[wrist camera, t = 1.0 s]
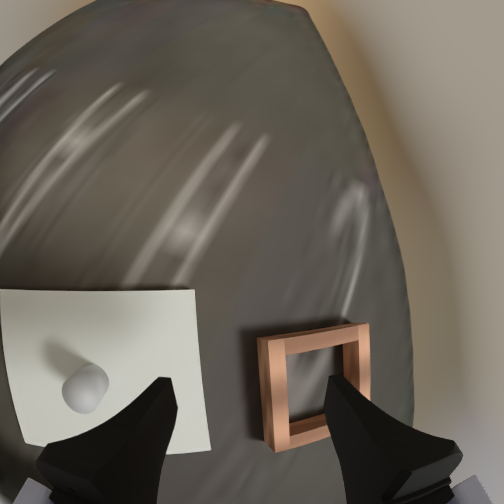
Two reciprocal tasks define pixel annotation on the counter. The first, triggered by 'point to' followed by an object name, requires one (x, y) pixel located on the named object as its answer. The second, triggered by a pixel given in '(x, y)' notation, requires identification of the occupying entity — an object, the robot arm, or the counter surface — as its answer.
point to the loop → (275, 380)
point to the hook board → (100, 359)
